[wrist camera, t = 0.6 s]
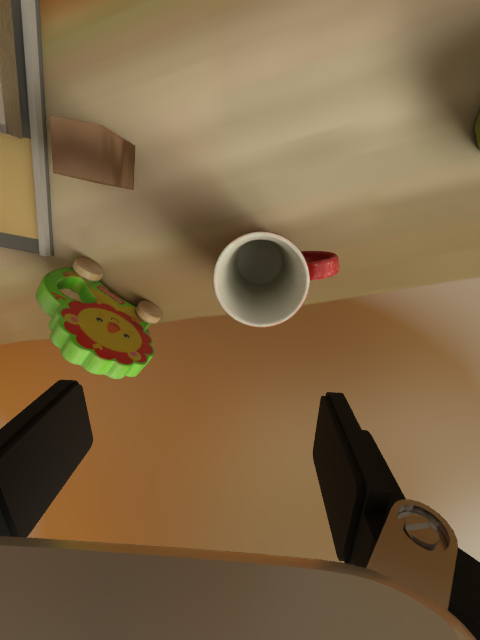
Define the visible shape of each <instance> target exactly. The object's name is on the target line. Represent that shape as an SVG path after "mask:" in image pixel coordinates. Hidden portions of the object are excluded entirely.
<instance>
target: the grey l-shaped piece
mask: <svg viewBox="0 0 480 640" xmlns="http://www.w3.org/2000/svg"><path fill="white" fill-rule="evenodd" d="M0 135H3V136H8V137H13V138H19V139H23V138H22V126H21V114H20V102H19V90H18V79H17V67H16V55H15V43H14V31H13V19H12V7H11V0H0Z"/></svg>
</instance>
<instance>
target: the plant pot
mask: <svg viewBox="0 0 480 640" xmlns="http://www.w3.org/2000/svg"><path fill="white" fill-rule="evenodd" d="M474 131H475V134H476V139H477V146H478V147H479V149H480V111H479V113H478V116H477V119H476V122H475V128H474Z"/></svg>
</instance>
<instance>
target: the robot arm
mask: <svg viewBox="0 0 480 640" xmlns="http://www.w3.org/2000/svg"><path fill="white" fill-rule="evenodd" d="M92 443H93V436H92V431H91V426H90V421H89V416H88V412H87V407H86V402H85V397H84V392H83V388H82V386H81V385H79V383H78V382H77V381H74V380H59V381H58V382H57V383H55V384H54V385H53V386H51V387H50V388H49V389H48V390H47V391H46V392H44V393H43V394H42V395H41V396H40V397H38V398H37V399H36V400H35V401H34V402H32V403H31V404H30V405H29V406H28V407H26V408H25V409H24V410H23V411H22V412H20V413H19V414H18V415H17V416H16V417H14V418H13V419H12V420H11V421H10V422H8V423H7V424H6V425H5V426H4V427H3V428H1V429H0V640H480V562H478V561H477V560H475V559H474V558H473V557H471V556H470V555H468V554H467V553H465V552H464V551H462V550H461V549H459V548H458V544H457V538H456V536H455V534H454V531H453V530H452V528H451V527H450V525H449V524H448V523H447V521H446V520H445V519H444V518H443V517H442V516H441V515H440V514H439V513H437V512H436V511H435V510H433V509H431V508H430V507H429V506H427V505H425V504H422V503H420V502H418V501H414V500H406V499H405V497H404V495H403V493H402V491H401V489H400V487H399V486H398V484H397V482H396V480H395V478H394V476H393V475H392V473H391V471H390V469H389V467H388V465H387V463H386V461H385V460H384V458H383V456H382V454H381V452H380V450H379V449H378V447H377V445H376V443H375V441H374V439H373V437H372V436H371V434H370V433H369V432H368V431H366V430H361V428H360V426H359V424H358V422H357V420H356V418H355V416H354V414H353V412H352V410H351V408H350V406H349V404H348V402H347V400H346V398H345V396H344V394H343V393H332V392H327V393H326V396H321V401H320V407H319V413H318V420H317V427H316V433H315V440H314V447H313V459H314V464H315V468H316V472H317V476H318V480H319V484H320V489H321V493H322V497H323V501H324V505H325V509H326V513H327V517H328V521H329V525H330V529H331V533H332V537H333V541H334V545H335V550H336V554H337V557H338V559H339V561H344V562H345V563H340V562H334V561H327V560H320V559H310V558H301V557H290V556H280V555H269V554H257V553H243V552H230V551H217V550H204V549H190V548H176V547H161V546H147V545H133V544H132V545H131V544H117V543H103V542H89V541H73V540H57V539H41V538H40V539H39V538H26V537H27V536H28V535H29V534H30V533H31V531H32V530H33V528H34V527H35V525H36V524H37V523H38V521H39V520H40V518H41V517H42V516H43V514H44V513H45V511H46V510H47V508H48V507H49V506H50V504H51V503H52V501H53V500H54V499H55V497H56V496H57V494H58V493H59V491H60V490H61V489H62V487H63V486H64V485H65V483H66V482H67V480H68V479H69V478H70V476H71V475H72V473H73V472H74V470H75V469H76V468H77V466H78V465H79V463H80V462H81V461H82V459H83V458H84V456H85V455H86V454H87V452H88V451H89V449H90V448H91V445H92Z"/></svg>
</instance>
